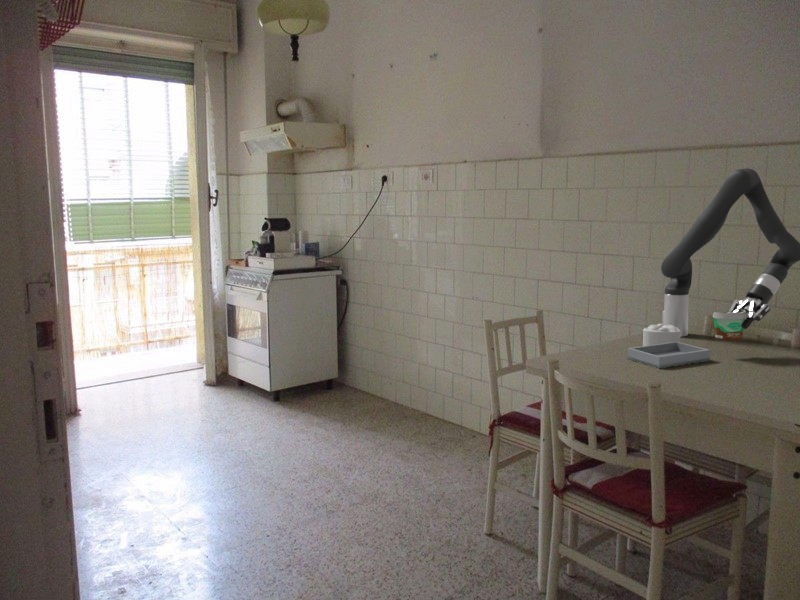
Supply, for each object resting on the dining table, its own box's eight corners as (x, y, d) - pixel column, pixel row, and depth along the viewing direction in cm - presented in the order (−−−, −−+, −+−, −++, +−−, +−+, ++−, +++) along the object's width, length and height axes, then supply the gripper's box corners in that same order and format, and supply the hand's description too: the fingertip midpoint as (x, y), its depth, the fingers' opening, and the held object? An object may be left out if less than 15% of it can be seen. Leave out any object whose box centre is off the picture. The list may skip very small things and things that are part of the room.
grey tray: (627, 359, 240) (627, 348, 240) (676, 352, 248) (676, 341, 247) (659, 368, 226) (659, 357, 225) (709, 361, 233) (710, 349, 233)
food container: (723, 343, 232) (724, 314, 230) (711, 339, 238) (712, 311, 236) (754, 340, 234) (755, 311, 232) (741, 336, 240) (743, 309, 238)
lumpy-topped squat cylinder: (681, 350, 250) (682, 328, 249) (644, 350, 253) (645, 327, 252) (676, 344, 260) (676, 322, 259) (641, 344, 263) (641, 322, 262)
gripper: (741, 280, 243) (714, 316, 241) (776, 285, 230) (748, 322, 228) (751, 293, 246) (725, 329, 244) (786, 299, 233) (758, 336, 231)
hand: (736, 325), depth 236 cm, fingers closed on food container, 5 cm apart
